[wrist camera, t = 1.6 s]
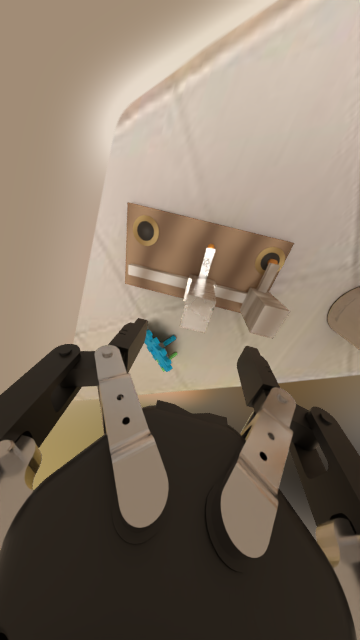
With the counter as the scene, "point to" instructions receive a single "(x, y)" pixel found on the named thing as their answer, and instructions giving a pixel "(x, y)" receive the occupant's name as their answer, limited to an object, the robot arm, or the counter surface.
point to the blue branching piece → (160, 350)
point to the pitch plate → (226, 268)
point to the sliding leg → (200, 296)
